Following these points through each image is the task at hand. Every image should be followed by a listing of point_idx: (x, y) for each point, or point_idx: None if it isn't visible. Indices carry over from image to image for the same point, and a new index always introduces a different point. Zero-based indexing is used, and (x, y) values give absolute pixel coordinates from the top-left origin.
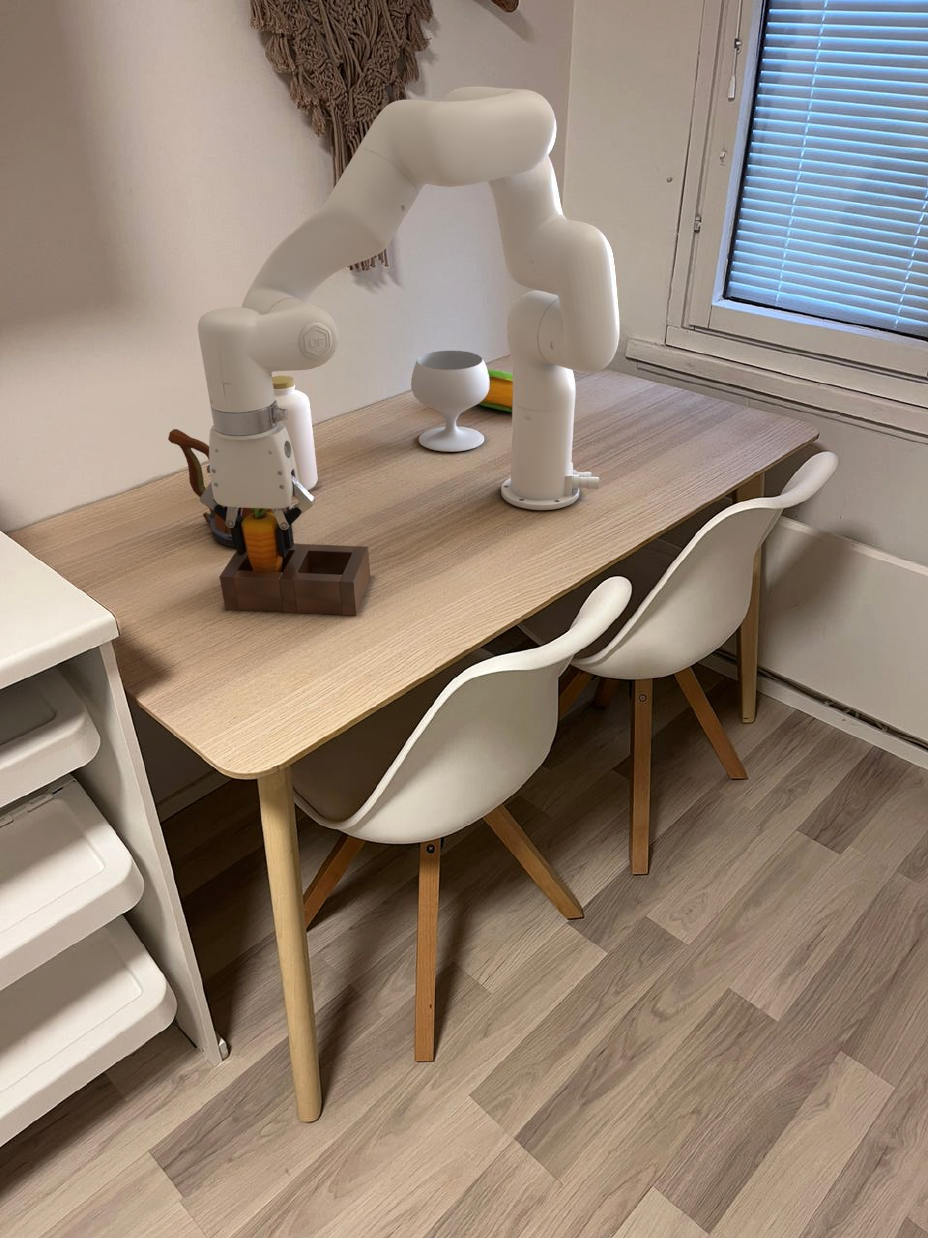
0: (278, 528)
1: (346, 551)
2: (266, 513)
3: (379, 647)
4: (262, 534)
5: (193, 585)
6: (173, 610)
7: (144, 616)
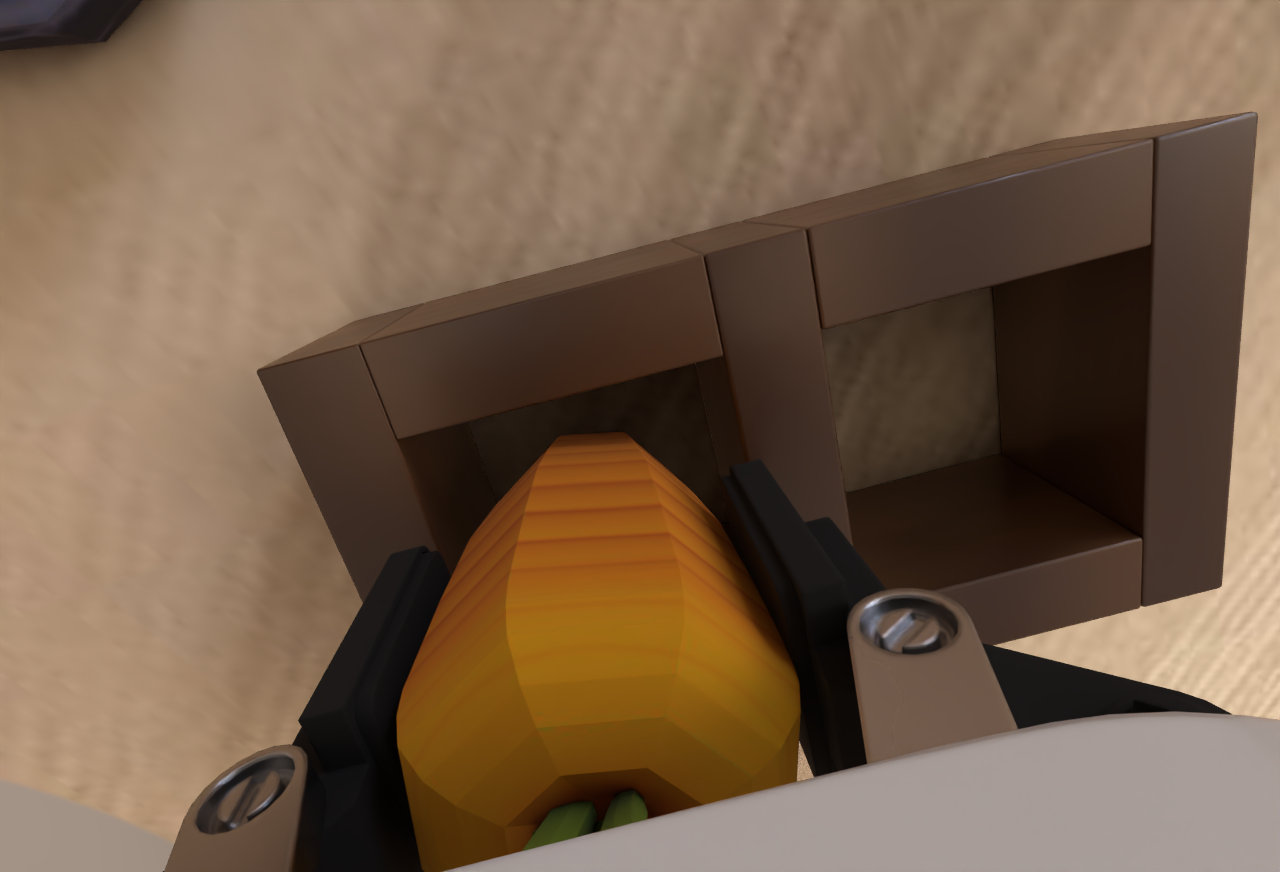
0: (833, 766)
1: (1107, 248)
2: (655, 770)
3: (1194, 643)
4: None
5: (173, 525)
6: (267, 717)
7: (189, 787)
